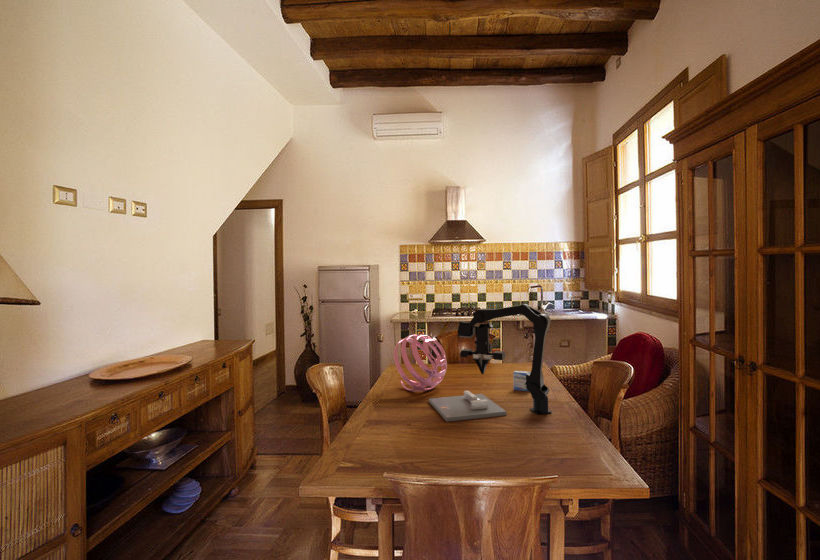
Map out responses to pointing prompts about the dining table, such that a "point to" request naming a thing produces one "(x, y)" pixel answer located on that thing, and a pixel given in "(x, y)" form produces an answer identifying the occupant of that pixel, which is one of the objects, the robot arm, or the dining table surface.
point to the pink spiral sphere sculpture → (421, 362)
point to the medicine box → (519, 380)
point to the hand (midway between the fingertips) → (482, 374)
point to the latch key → (475, 401)
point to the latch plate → (464, 408)
